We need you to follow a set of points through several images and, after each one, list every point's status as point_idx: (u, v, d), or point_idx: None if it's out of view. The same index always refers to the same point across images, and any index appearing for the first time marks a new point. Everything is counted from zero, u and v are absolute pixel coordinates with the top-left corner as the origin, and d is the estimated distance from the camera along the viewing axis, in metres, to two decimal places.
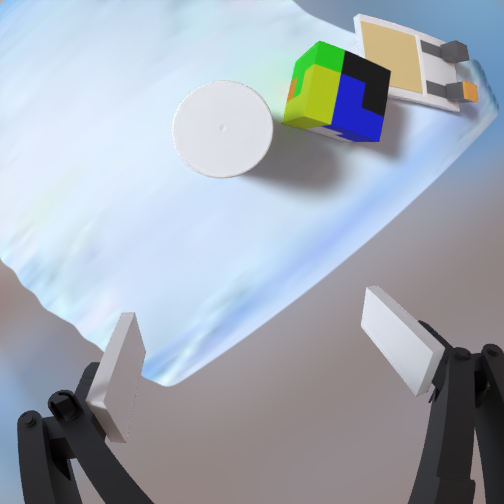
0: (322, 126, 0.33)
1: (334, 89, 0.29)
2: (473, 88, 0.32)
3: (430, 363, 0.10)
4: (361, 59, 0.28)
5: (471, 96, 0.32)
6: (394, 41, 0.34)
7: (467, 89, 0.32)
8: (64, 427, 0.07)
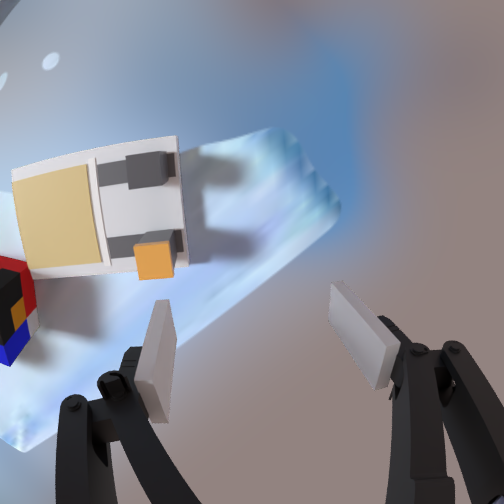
0: None
1: None
2: (157, 254, 0.25)
3: (385, 357, 0.11)
4: None
5: (151, 272, 0.25)
6: (52, 193, 0.27)
7: (140, 261, 0.25)
8: (110, 407, 0.08)
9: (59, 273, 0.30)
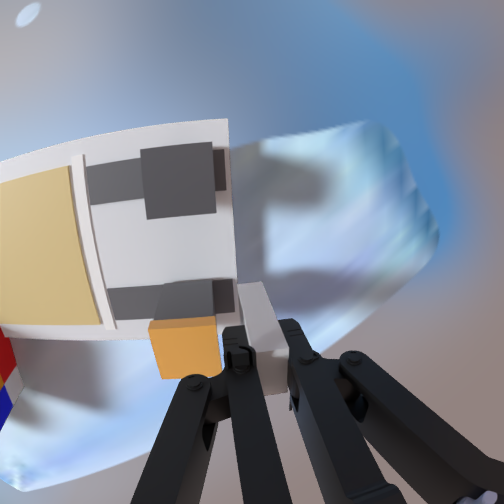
0: None
1: None
2: (195, 342, 0.13)
3: (273, 362, 0.12)
4: None
5: (182, 369, 0.14)
6: (16, 214, 0.15)
7: (162, 352, 0.13)
8: (230, 377, 0.10)
9: (39, 333, 0.18)
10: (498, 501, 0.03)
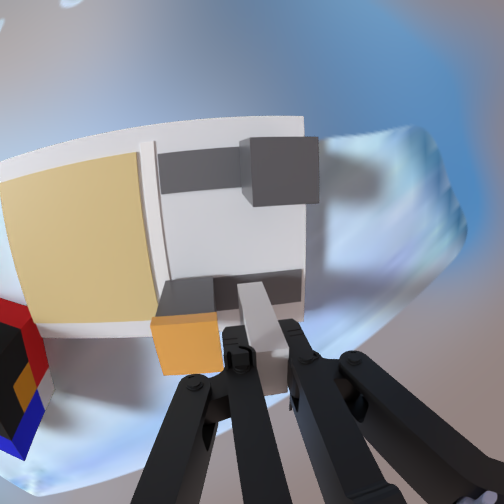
0: None
1: None
2: (197, 337, 0.13)
3: (273, 362, 0.12)
4: None
5: (184, 365, 0.14)
6: (69, 202, 0.16)
7: (164, 348, 0.14)
8: (230, 377, 0.10)
9: (85, 332, 0.19)
10: (498, 501, 0.03)
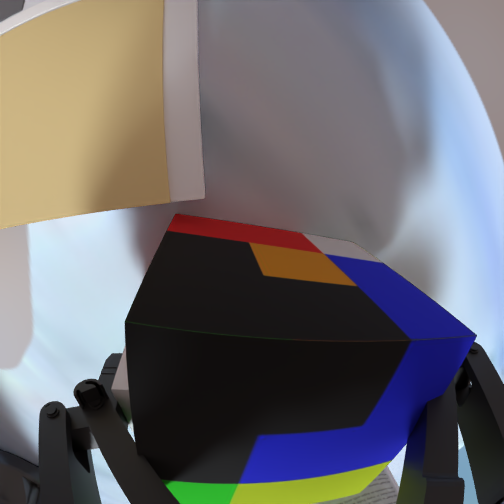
0: None
1: (299, 483, 0.08)
2: None
3: None
4: (147, 447, 0.07)
5: None
6: (3, 109, 0.09)
7: None
8: (88, 415, 0.08)
9: (185, 92, 0.11)
10: None
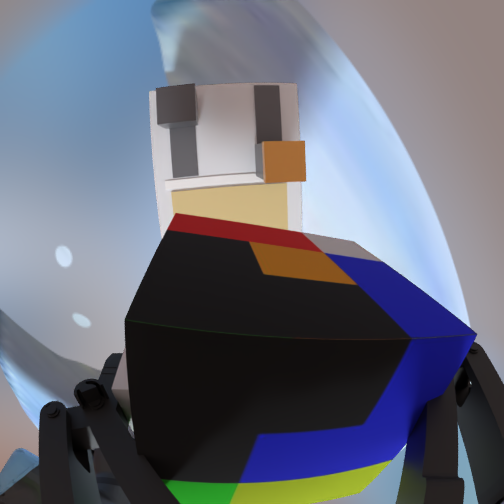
0: None
1: (299, 482, 0.08)
2: (275, 154, 0.21)
3: None
4: (147, 446, 0.07)
5: (297, 165, 0.22)
6: None
7: (284, 176, 0.22)
8: (88, 415, 0.08)
9: None
10: None
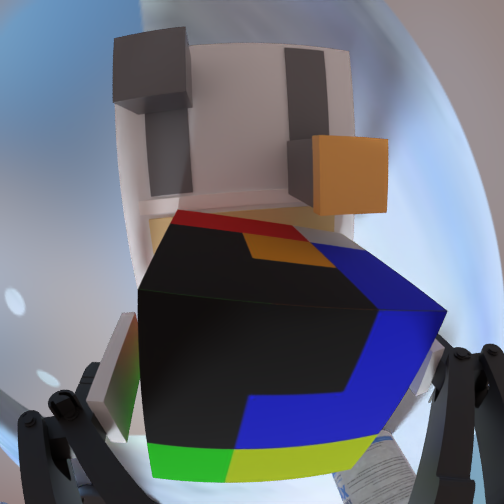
0: None
1: (290, 451, 0.10)
2: (340, 161, 0.11)
3: (430, 363, 0.10)
4: (153, 408, 0.08)
5: (375, 184, 0.11)
6: None
7: (352, 203, 0.12)
8: (64, 427, 0.07)
9: None
10: None
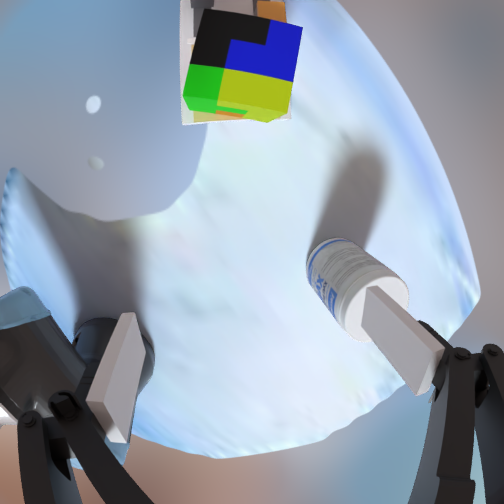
0: None
1: (248, 76, 0.24)
2: (265, 7, 0.25)
3: (430, 363, 0.10)
4: (198, 43, 0.22)
5: (280, 14, 0.25)
6: None
7: None
8: (64, 427, 0.07)
9: None
10: None
